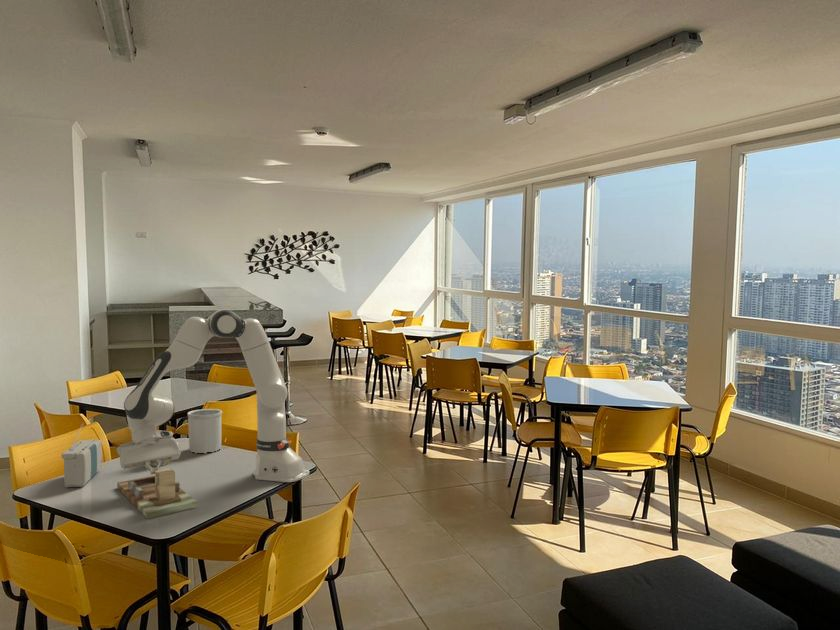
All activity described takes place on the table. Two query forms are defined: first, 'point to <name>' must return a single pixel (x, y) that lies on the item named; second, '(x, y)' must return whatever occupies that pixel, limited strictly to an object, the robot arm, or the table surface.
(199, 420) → the utensil holder
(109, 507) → the table surface
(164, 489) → the wood block
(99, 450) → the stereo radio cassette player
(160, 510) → the track
